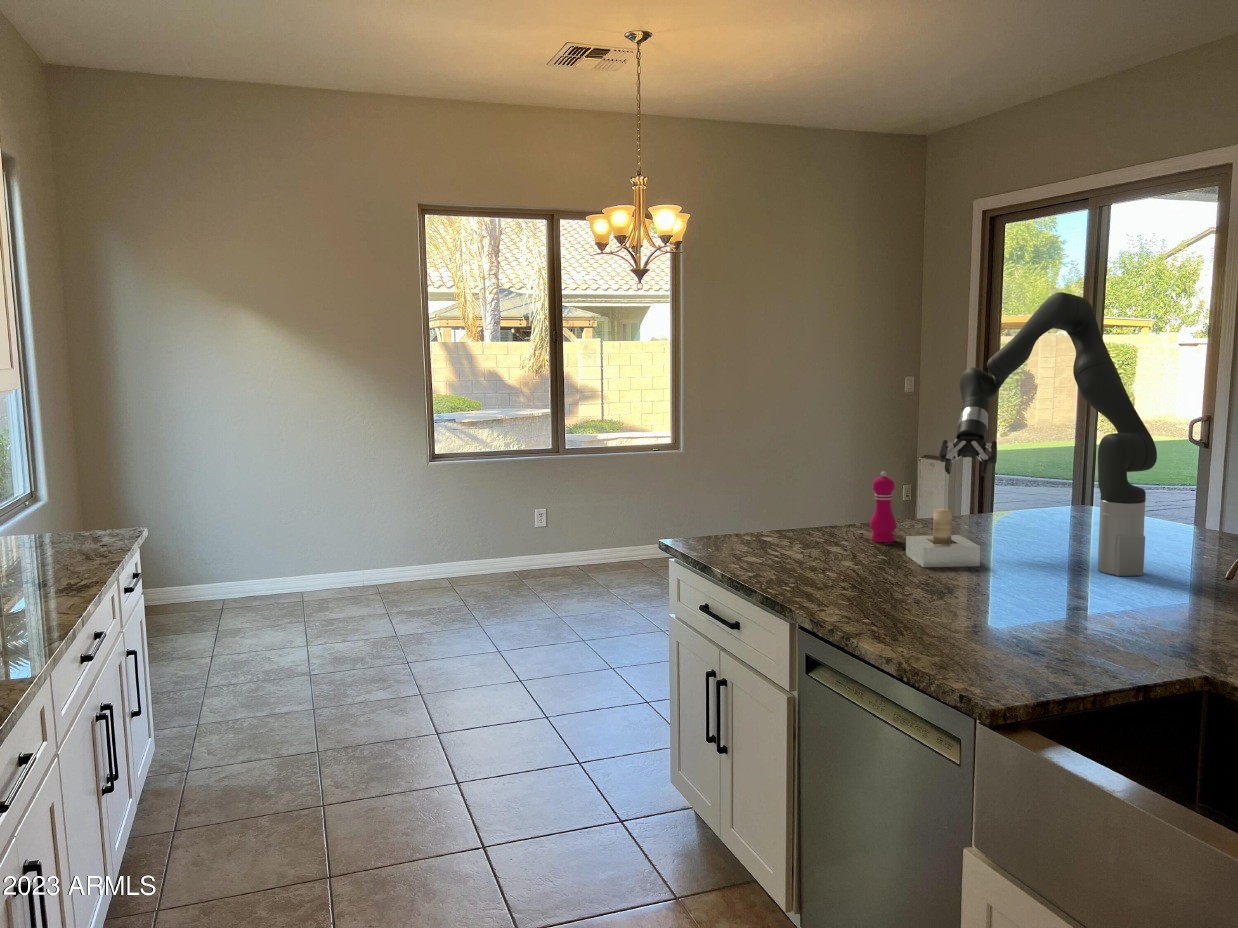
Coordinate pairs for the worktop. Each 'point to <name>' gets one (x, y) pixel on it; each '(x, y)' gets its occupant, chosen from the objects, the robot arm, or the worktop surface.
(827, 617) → the worktop surface
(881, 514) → the pepper mill
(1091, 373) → the robot arm
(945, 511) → the peg
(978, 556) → the white square frame block
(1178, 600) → the worktop surface
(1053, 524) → the worktop surface
